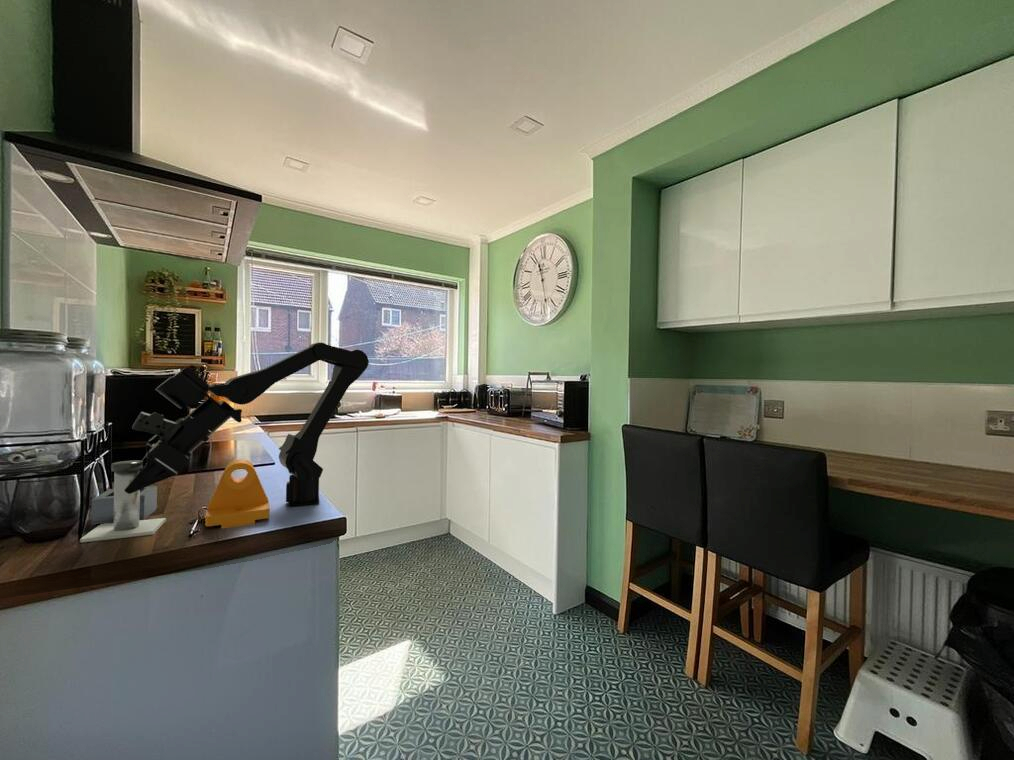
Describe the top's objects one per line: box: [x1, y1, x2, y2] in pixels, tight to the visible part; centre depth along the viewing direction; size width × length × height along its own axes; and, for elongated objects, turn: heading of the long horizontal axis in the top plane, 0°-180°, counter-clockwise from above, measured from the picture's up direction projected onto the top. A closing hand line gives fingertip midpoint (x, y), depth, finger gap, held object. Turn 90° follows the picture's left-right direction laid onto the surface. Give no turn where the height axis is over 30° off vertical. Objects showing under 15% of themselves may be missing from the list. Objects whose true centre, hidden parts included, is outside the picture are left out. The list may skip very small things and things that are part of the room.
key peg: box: [111, 459, 143, 531], centre depth 79 cm, size 4×4×12 cm
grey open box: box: [90, 485, 158, 526], centre depth 86 cm, size 8×8×5 cm
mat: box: [79, 517, 167, 543], centre depth 79 cm, size 10×8×1 cm
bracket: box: [204, 458, 271, 529], centre depth 86 cm, size 11×7×12 cm, turn 122°
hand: (127, 486), depth 79 cm, fingers open, 9 cm apart
